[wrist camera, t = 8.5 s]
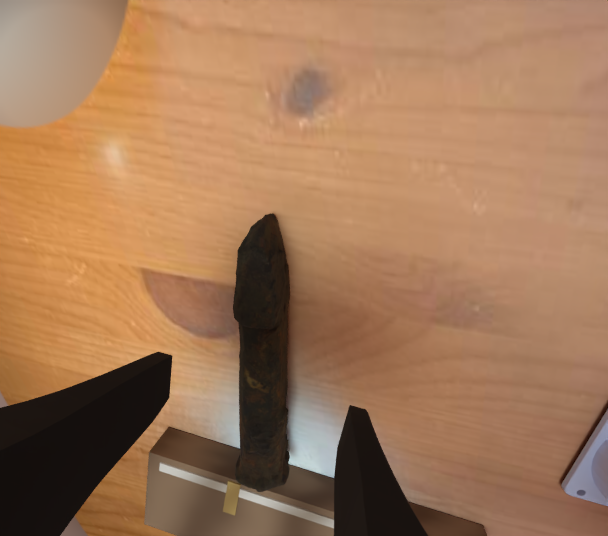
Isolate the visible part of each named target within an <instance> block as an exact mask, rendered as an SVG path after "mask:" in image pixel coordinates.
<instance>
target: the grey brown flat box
mask: <svg viewBox="0 0 608 536" xmlns="http://www.w3.org/2000/svg"><path fill="white" fill-rule="evenodd" d="M239 455H240V449H237V448H234V447H231V446H228V445H224V444H221V443H218V442H215V441H212V440H208V439H205V438H202V437H199V436H196V435H193V434H189V433H186V432H183V431H180V430H177V429H173V428H170V427H168V428H167V430H166V431H165V432H164V434H163V435H162V436H161V437H160V439H159V440H158V441H157V443H156V444H155V445H154V446H153V448H152V449H151V450H150V452H149V461H148V476H147V492H146V507H145V522H144V524H146V525H148V526H151V527H154V528H157V529H160V530H163V531H165V532H168V533H171V534H174V535H177V536H334V479H333V478H330V477H327V476H323V475H320V474H317V473H314V472H311V471H307V470H304V469H301V468H298V467H295V466H291V465H289V468H290V470H289V476H288V479H287V481H286V483H285V484H284V485H282V486H278V487H275V488H272V489H269V490H266V491H263V492H257V490H255V489H252V488H248V487H246V486H244V485H241V484H239V483H238V482H237V481H236V480H235V479H236V477H235V466H236V463H237V460H238V458H239ZM408 503H409V504H410V506H411V508H412V510H413V511H414V513H415V515H416V516H417V518H418V520H419V521H420V523H421V525H422V526H423V528H424V530H425V531H426V533H427V534H428V536H487V534H486V532H485V529H484V527H483V525H480V524H477V523H473V522H470V521H467V520H464V519H461V518H458V517H454V516H451V515H448V514H445V513H442V512H438V511H435V510H432V509H429V508H426V507H422V506H419V505H416V504H413V503H410V502H408Z"/></svg>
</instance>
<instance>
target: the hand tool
mask: <svg viewBox="0 0 608 536" xmlns="http://www.w3.org/2000/svg"><path fill="white" fill-rule="evenodd" d="M289 297H290V284H289V270H288V264H287V261H286V254H285V250H284V245H283V240H282V236H281V233H280V229H279V225H278V221H277V219H276V216H275V215H274V214H268V215H265V216H264V217H263V218H262V219H261V220H259V221H257V222H256V223H255V224H254V225H253V226H252V227H251V228H250V230H249V233H248V234H247V236H246V237H245V239H244V240H243V242H242V244H241V246H240V247H239V249H238V258H237V269H236V288H235V294H234V304H233V311H234V318H235V319H236V320H237V321H238V322H239V333H240V355H239V358H240V370H239V405H240V409H239V414H240V424H239V425H240V455H239V458H238V460H237V463H236V466H235V477H236V479H235V480H236V481H237V482H238V483H239V484H241V485H244V486H246V487H248V488H252V489H255V490H257V492H263V491H266V490H269V489H272V488H275V487H278V486H282V485H284V484H285V483H286V481H287V479H288V476H289V470H290V468H289V465H288V461H289V452H288V451H287V446H288V439H287V434H286V426H287V414H288V410H287V408H286V394H287V343H288V330H287V329H288V304H289Z"/></svg>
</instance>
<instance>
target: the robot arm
mask: <svg viewBox="0 0 608 536" xmlns="http://www.w3.org/2000/svg"><path fill="white" fill-rule="evenodd" d="M171 366H172V355H168V354H165V353H161V352H156V353H154V354H151V355H148V356H146V357H144V358H141V359H139V360H136V361H134V362H132V363H129V364H127V365H125V366H122V367H120V368H117V369H115V370H113V371H110V372H108V373H105V374H103V375H101V376H98V377H95V378H93V379H90V380H87V381H85V382H82V383H79V384H77V385H74V386H72V387H69V388H66V389H63V390H60V391H57V392H54V393H51V394H48V395H45V396H42V397H38V398H35V399H32V400H28V401H25V402H22V403H18V404H14V405H10V406H6V407H2V408H0V536H60V535H61V534H62V532H63V531H64V529H65V528H66V527H67V525H68V524H69V522H70V521H71V520H72V518H73V517H74V516H75V514H76V513H77V512H78V510H79V509H80V508H81V506H82V505H83V504H84V502H85V501H86V500H87V498H88V497H89V496H90V494H91V493H92V492H93V490H94V489H95V488H96V487H97V485H98V484H99V483H100V482H101V480H102V479H103V478H104V477H105V476H106V475H107V473H108V472H109V471H110V470H111V469H112V468H113V467H114V465H115V464H116V463H117V462H118V461H119V460H120V459H121V457H122V456H123V455H124V454H125V453H126V452H127V451H128V450H129V448H130V447H131V446H132V445H133V444H134V443H135V442H136V440H137V439H138V438H139V437H140V436H141V435H142V434H143V432H144V431H145V430H146V429H147V428H148V427H149V425H150V424H151V423H152V422H153V421H154V419H155V418H156V416H157V415H158V414H159V412H160V411H161V409H162V408H163V406H164V405H165V403H166V402H167V400H168V399H169V393H170V380H171ZM561 486H562V488H563V490H564V491H565V492H566V494H568V495H571V496H574V497H578V498H581V499H584V500H588V501H591V502H595V503H598V504H601V505H605V506H608V409H607V411H606V413H605V414H604V416H603V417H602V419H601V421H600V422H599V424H598V426H597V427H596V429H595V430H594V432H593V434H592V435H591V437H590V439H589V440H588V442H587V443H586V445H585V447H584V448H583V450H582V452H581V453H580V455H579V456H578V458H577V460H576V461H575V463H574V465H573V466H572V468H571V469H570V471H569V473H568V474H567V476H566V478H565V479H564V481H563V482H562V485H561ZM334 536H428V534H427V533H426V531H425V530H424V528H423V526H422V525H421V523H420V521H419V520H418V518H417V516H416V515H415V513H414V511H413V510H412V508H411V506H410V504H409V503H408V501H407V499H406V497H405V495H404V493H403V492H402V490H401V488H400V486H399V484H398V482H397V480H396V478H395V476H394V474H393V472H392V470H391V468H390V466H389V463H388V461H387V459H386V457H385V455H384V452H383V450H382V448H381V446H380V443H379V441H378V438H377V436H376V433H375V431H374V428H373V426H372V423H371V420H370V417H369V414H368V412H367V411H366V410H365V409H362V408H358V407H355V406H351V405H350V406H349V410H348V413H347V416H346V420H345V423H344V427H343V430H342V434H341V437H340V441H339V444H338V448H337V457H336V466H335V476H334Z"/></svg>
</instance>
